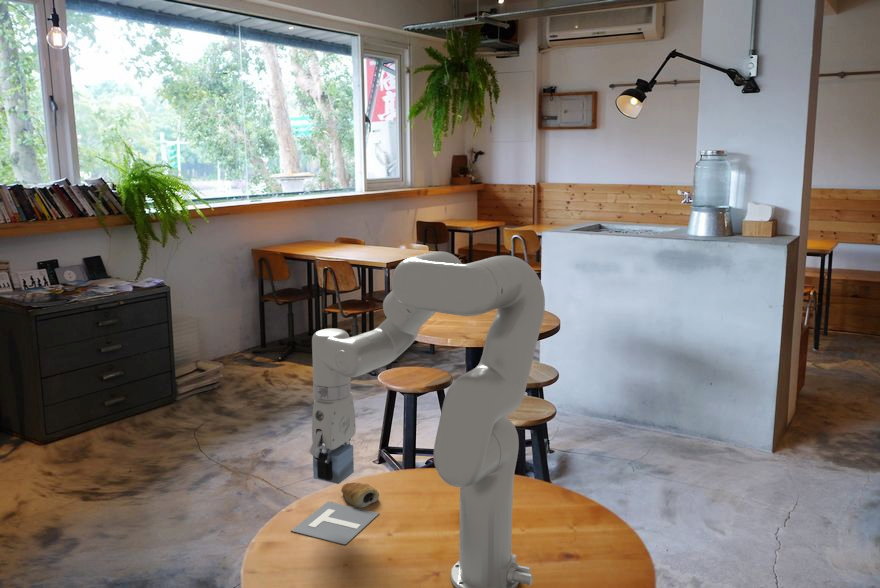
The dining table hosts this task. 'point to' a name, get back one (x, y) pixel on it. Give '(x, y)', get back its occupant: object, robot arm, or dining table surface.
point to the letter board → (335, 523)
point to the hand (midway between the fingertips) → (333, 471)
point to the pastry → (359, 494)
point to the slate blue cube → (338, 463)
